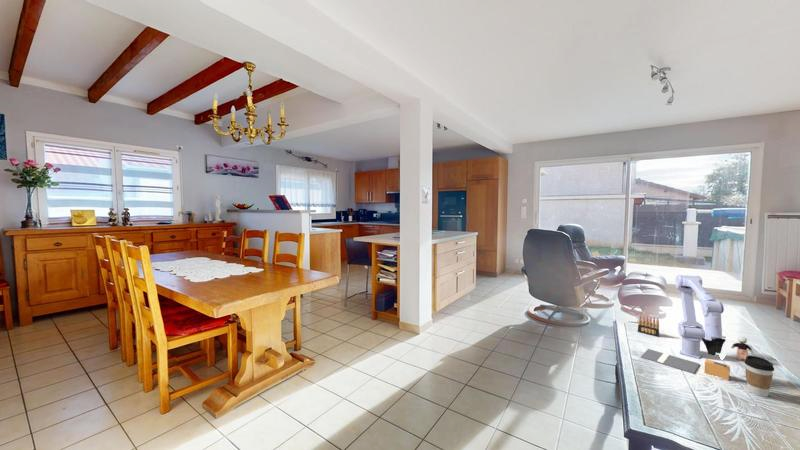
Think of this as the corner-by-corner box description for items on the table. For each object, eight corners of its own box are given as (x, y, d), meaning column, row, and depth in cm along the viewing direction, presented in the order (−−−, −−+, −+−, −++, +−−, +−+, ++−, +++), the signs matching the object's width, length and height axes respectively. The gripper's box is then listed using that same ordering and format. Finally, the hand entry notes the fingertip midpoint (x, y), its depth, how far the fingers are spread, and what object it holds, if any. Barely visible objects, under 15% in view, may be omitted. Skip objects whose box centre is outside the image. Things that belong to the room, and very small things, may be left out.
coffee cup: (762, 389, 133) (764, 356, 132) (779, 400, 125) (780, 366, 124) (737, 385, 136) (739, 354, 135) (752, 396, 128) (754, 363, 127)
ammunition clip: (659, 336, 188) (659, 318, 188) (658, 337, 187) (659, 318, 186) (638, 331, 197) (638, 313, 196) (637, 331, 195) (638, 314, 195)
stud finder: (705, 370, 149) (706, 358, 148) (729, 377, 142) (729, 365, 142) (704, 373, 146) (704, 361, 146) (728, 380, 140) (728, 368, 140)
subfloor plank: (648, 349, 171) (648, 348, 171) (699, 364, 154) (699, 363, 154) (640, 357, 162) (640, 356, 162) (694, 374, 146) (694, 372, 146)
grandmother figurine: (750, 360, 157) (751, 337, 157) (753, 363, 154) (754, 339, 154) (729, 356, 162) (730, 333, 161) (732, 359, 159) (733, 336, 158)
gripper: (719, 328, 138) (721, 358, 137) (729, 326, 145) (731, 354, 144) (699, 325, 145) (700, 353, 143) (709, 322, 151) (711, 350, 150)
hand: (714, 353), depth 144 cm, fingers open, 7 cm apart
